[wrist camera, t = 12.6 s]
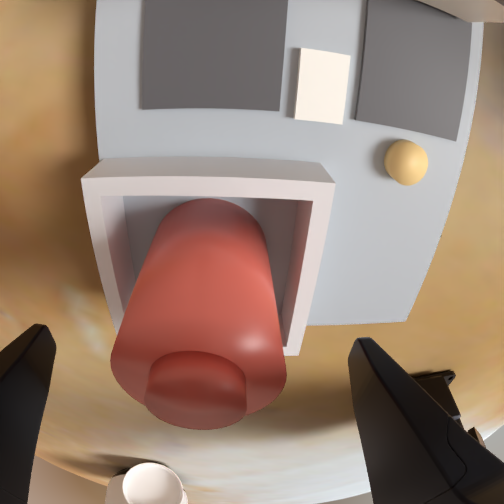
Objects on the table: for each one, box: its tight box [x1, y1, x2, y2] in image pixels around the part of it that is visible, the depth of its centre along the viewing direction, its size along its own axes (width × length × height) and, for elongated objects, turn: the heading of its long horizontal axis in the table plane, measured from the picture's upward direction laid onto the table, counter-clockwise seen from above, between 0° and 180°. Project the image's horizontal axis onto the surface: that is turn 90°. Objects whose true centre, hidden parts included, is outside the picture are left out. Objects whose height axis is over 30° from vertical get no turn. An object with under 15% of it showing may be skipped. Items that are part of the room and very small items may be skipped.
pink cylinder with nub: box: [110, 198, 287, 430], centre depth 10 cm, size 4×4×7 cm
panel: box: [81, 0, 484, 356], centre depth 9 cm, size 19×14×6 cm
